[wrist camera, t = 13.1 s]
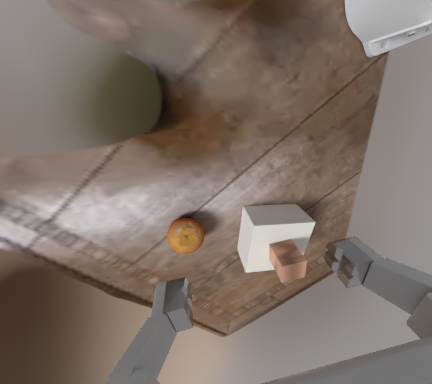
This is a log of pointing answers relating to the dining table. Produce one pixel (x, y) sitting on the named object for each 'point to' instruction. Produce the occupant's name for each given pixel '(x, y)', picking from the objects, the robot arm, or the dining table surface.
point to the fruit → (185, 235)
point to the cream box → (271, 232)
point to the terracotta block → (287, 260)
